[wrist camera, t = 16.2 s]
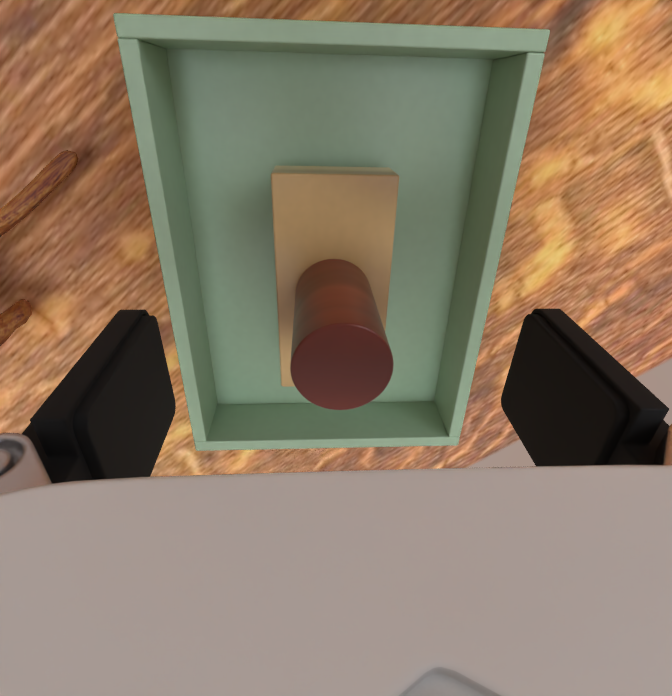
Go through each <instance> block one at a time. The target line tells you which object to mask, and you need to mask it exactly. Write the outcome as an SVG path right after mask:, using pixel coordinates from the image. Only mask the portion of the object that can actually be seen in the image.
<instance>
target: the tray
mask: <svg viewBox="0 0 672 696" xmlns="http://www.w3.org/2000/svg"><path fill="white" fill-rule="evenodd" d="M113 17H114V22H115V27H116V33H117V36H118V44H119V49H120V55H121V60H122V65H123V70H124V76H125V81H126V86H127V91H128V97H129V102H130V107H131V112H132V118H133V123H134V128H135V133H136V139H137V144H138V149H139V154H140V160H141V165H142V170H143V175H144V181H145V186H146V191H147V196H148V202H149V207H150V212H151V217H152V223H153V228H154V233H155V238H156V244H157V249H158V254H159V259H160V265H161V270H162V275H163V280H164V286H165V291H166V296H167V301H168V307H169V312H170V317H171V322H172V328H173V333H174V338H175V343H176V349H177V354H178V359H179V364H180V370H181V375H182V380H183V385H184V391H185V396H186V401H187V406H188V412H189V417H190V422H191V427H192V433H193V438H194V442H195V448H196V450H197V451H205V450H254V449H302V448H351V447H400V446H449V445H458V443H459V438H460V437H459V436H460V433H461V429H462V424H463V420H464V415H465V411H466V406H467V402H468V397H469V393H470V388H471V384H472V379H473V375H474V370H475V366H476V361H477V357H478V352H479V348H480V343H481V339H482V334H483V330H484V325H485V321H486V316H487V312H488V307H489V303H490V299H491V294H492V290H493V285H494V281H495V276H496V272H497V267H498V263H499V258H500V254H501V249H502V245H503V240H504V236H505V231H506V227H507V222H508V218H509V213H510V209H511V204H512V200H513V195H514V191H515V186H516V182H517V177H518V173H519V168H520V164H521V159H522V155H523V150H524V146H525V141H526V137H527V132H528V128H529V123H530V119H531V114H532V110H533V105H534V101H535V96H536V92H537V87H538V83H539V78H540V74H541V69H542V65H543V60H544V56H545V55H544V52H545V51H546V47H547V43H548V38H549V34H550V30H549V29H527V28H501V27H474V26H447V25H421V24H394V23H367V22H341V21H314V20H287V19H260V18H234V17H207V16H180V15H154V14H127V13H114V14H113ZM276 165H279V166H335V167H389V168H391V169H392V170H393V171H394V172H395V173H397V174H398V175H399V188H398V198H397V209H396V220H395V231H394V242H393V253H392V264H391V275H390V286H389V296H388V307H387V318H386V329H385V333H386V336H387V340H388V343H389V346H390V349H391V352H392V355H393V362H394V366H393V373H392V376H391V379H390V381H389V383H388V385H387V387H386V388H385V390H384V391H383V392H382V393H381V394H380V395H379V396H378V397H377V398H375V399H374V400H372V401H371V402H369V403H367V404H365V405H363V406H361V407H357V408H354V409H348V410H332V409H326V408H322V407H320V406H317V405H315V404H313V403H311V402H310V401H308V400H307V399H306V398H304V397H303V396H302V395H301V394H300V392H299V391H298V390H297V388H296V387H295V386H294V387H283V386H282V385H281V371H280V351H279V331H278V311H277V292H276V272H275V252H274V232H273V212H272V192H271V173H272V171H273V169H274V167H275V166H276Z"/></svg>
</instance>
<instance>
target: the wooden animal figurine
mask: <svg viewBox="0 0 672 696" xmlns="http://www.w3.org/2000/svg"><path fill="white" fill-rule="evenodd" d="M77 162H78V158H77V155H76V153H74V152H71V151H68V150H67V151H64V152H61V153H60V154H59V155H57V156H56V157H55V158H54V159H53V160H52V161H51V162H50V163H49V164H48V165H47V166H46V167H45V168H44V169H43V170H42V171H41V172H40V173H39V174H38V175H37V176H36V177H35V178H34V179H33V180H32V181H31V182H30V183H29V184H28V185H27V186H26V187H25V188H24V189H23V190H22V191H21V192H20V193H19V194H18V195H16V196H15V197H14V198H13V199H12V200H11V201H10V202H8V203H7V204H6V205H5V206H4V207H2V208H1V209H0V237H1V236H2V235H4V234H5V233H6V232H8V231H9V230H10V229H12V228H13V227H14V226H15V225H16V224H18V223H19V222H20V221H21V220H22V219H24V218H25V217H26V216H27V215H28V214H29V213H30V212H32V211H33V210H34V209H35V208H36V207H37V206H38V205H39V204H40V203H41V202H42V201H43V200H44V199H45V198H46V197H47V196H48V195H49V194H50V193H51V192H52V191H53V190H54V189H55V188H56V187H57V186H58V185H59V184H60V183H61V182H62V181H63V180H64V179H65V178H66V177H67V176H68V175H69V174H70V173H71V172H72V171H73V169H74V168H75V167H76V165H77ZM31 314H32V311H31V306H30V303H29V301H26V300H25V299H21V300H19V301H18V302H16V303H15V304H14V305H12V306H11V307H10V308H8V309H7V310H6V311H5V312H3V313H1V314H0V346H1V345H2V344H3V343H4V342H5V341H6V340H7V339H8V338H9V337H10V335H11V334H12V333H13V332H14V331H15V329H17V328H18V327H20V326H21V325H23V324H25V323H26V322H27V320H28V319H29V317H30V316H31Z"/></svg>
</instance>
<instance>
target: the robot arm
mask: <svg viewBox="0 0 672 696" xmlns="http://www.w3.org/2000/svg"><path fill="white" fill-rule="evenodd" d="M501 405H502V408H503V411H504V412H505V414H506V416H507V417H508V419H509V421H510V422H511V424H512V426H513V428H514V429H515V431H516V433H517V434H518V436H519V438H520V440H521V441H522V443H523V445H524V446H525V448H526V450H527V451H528V453H529V455H530V456H531V458H532V460H533V462H534V463H535V465H536V466H535V467H491V468H490V467H489V468H445V469H404V470H366V471H330V472H292V473H257V474H224V475H191V476H158V477H150V475H151V473H152V470H153V468H154V465H155V463H156V460H157V458H158V455H159V453H160V450H161V448H162V445H163V442H164V440H165V437H166V435H167V432H168V430H169V427H170V425H171V422H172V420H173V417H174V414H175V407H176V406H175V398H174V394H173V389H172V385H171V380H170V376H169V371H168V367H167V363H166V358H165V354H164V349H163V345H162V340H161V336H160V331H159V327H158V322H157V319H156V317H155V316H149V314H148V312H147V311H146V310H120V311H118V312H117V314H116V315H115V316H114V317H113V319H112V320H111V321H110V322H109V324H108V325H107V326H106V327H105V328H104V330H103V331H102V332H101V333H100V335H99V336H98V337H97V338H96V339H95V341H94V342H93V343H92V344H91V346H90V347H89V348H88V349H87V351H86V352H85V353H84V354H83V355H82V357H81V358H80V359H79V360H78V362H77V363H76V364H75V365H74V367H73V368H72V369H71V370H70V371H69V373H68V374H67V375H66V376H65V378H64V379H63V380H62V381H61V383H60V384H59V385H58V386H57V387H56V389H55V390H54V391H53V392H52V394H51V395H50V396H49V397H48V398H47V400H46V401H45V402H44V403H43V405H42V406H41V407H40V408H39V410H38V411H37V412H36V413H35V414H34V416H33V417H32V418H31V419H30V421H31V423H30V425H29V426H28V427H27V428H26V430H25V431H24V432H23V433H22V434H19V433H1V434H0V696H672V424H671V425H670V426H669V425H668V424H667V423H666V422H665V421H664V420H663V419H664V417H665V415H666V414H667V412H668V410H669V408H668V407H667V406H666V405H664V404H663V403H662V402H661V401H660V400H659V399H658V398H657V397H655V395H654V394H652V393H651V392H650V391H649V390H648V389H647V388H646V387H645V386H644V385H643V384H641V383H640V382H639V381H638V380H637V379H636V378H635V377H634V376H633V375H632V374H631V373H630V372H628V371H627V370H626V369H625V368H624V367H623V366H622V365H621V364H620V363H619V362H618V361H616V360H615V359H614V358H613V357H612V356H611V355H610V354H609V353H608V352H607V351H606V350H604V349H603V348H602V347H601V346H600V345H599V344H598V343H597V342H596V341H595V340H594V339H592V338H591V337H590V336H589V335H588V334H587V333H586V332H585V331H584V330H583V329H582V328H580V327H579V326H578V325H577V324H576V323H575V322H574V321H573V320H572V319H571V318H570V317H568V316H567V315H566V314H565V313H564V312H563V311H562V310H560V309H535V310H533V312H532V313H531V314H528V315H527V316H526V317H525V319H524V322H523V325H522V328H521V332H520V335H519V339H518V342H517V345H516V349H515V352H514V356H513V359H512V362H511V366H510V369H509V373H508V376H507V379H506V383H505V386H504V390H503V393H502V397H501Z"/></svg>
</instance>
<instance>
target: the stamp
mask: <svg viewBox="0 0 672 696" xmlns="http://www.w3.org/2000/svg"><path fill="white" fill-rule="evenodd" d="M398 188H399V175H398V174H397V173H395V172H394V171H393V170H392V169H391V168H389V167H335V166H279V165H276V166H275V167H274V169H273V171H272V173H271V192H272V212H273V232H274V252H275V272H276V292H277V311H278V331H279V351H280V371H281V385H282V386H283V387H294V386H295V387H296V388H297V390H298V391H299V392H300V394H301V395H302V396H303V397H304V398H306V399H307V400H308V401H310V402H311V403H313V404H315V405H317V406H320V407H322V408H326V409H332V410H348V409H354V408H357V407H361V406H363V405H365V404H367V403H369V402H371V401H372V400H374V399H375V398H377V397H378V396H379V395H380V394H381V393H382V392H383V391H384V390H385V388H386V387H387V385H388V383H389V381H390V379H391V376H392V373H393V366H394V362H393V355H392V352H391V349H390V346H389V343H388V340H387V336H386V333H385V329H386V318H387V307H388V296H389V286H390V275H391V264H392V253H393V242H394V231H395V220H396V209H397V198H398Z"/></svg>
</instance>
